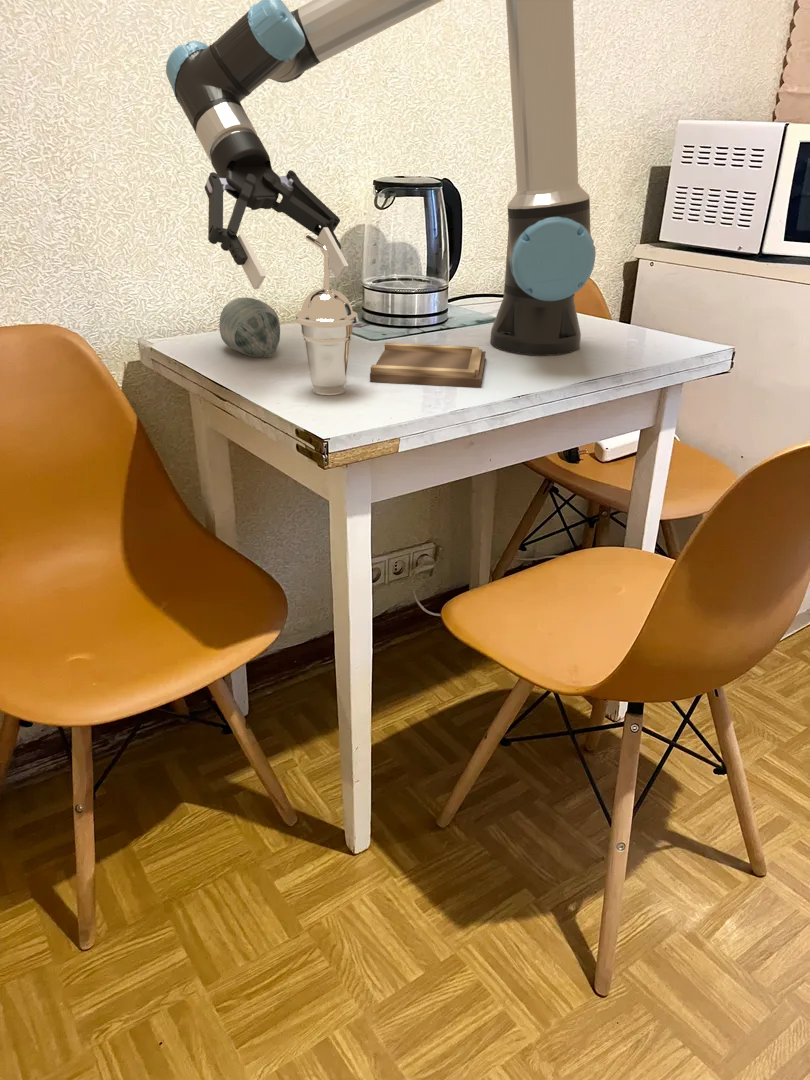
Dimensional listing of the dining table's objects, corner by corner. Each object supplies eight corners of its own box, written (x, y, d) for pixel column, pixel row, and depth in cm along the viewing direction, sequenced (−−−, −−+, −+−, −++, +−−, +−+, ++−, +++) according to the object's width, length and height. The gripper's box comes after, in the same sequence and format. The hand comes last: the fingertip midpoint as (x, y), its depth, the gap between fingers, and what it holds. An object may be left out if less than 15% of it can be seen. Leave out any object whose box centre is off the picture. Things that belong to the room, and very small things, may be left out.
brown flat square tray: (485, 359, 131) (485, 346, 130) (480, 387, 117) (481, 373, 116) (386, 354, 133) (386, 341, 132) (370, 381, 119) (369, 368, 118)
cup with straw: (297, 400, 110) (290, 243, 101) (298, 381, 118) (292, 234, 109) (360, 399, 111) (359, 244, 102) (357, 380, 119) (356, 235, 110)
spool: (299, 338, 128) (263, 280, 124) (247, 371, 126) (210, 313, 123) (285, 340, 140) (252, 287, 137) (238, 369, 139) (204, 317, 136)
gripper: (297, 167, 123) (361, 284, 120) (143, 171, 108) (212, 305, 105) (318, 128, 117) (385, 251, 115) (158, 127, 102) (231, 268, 99)
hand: (302, 277), depth 110 cm, fingers open, 13 cm apart
